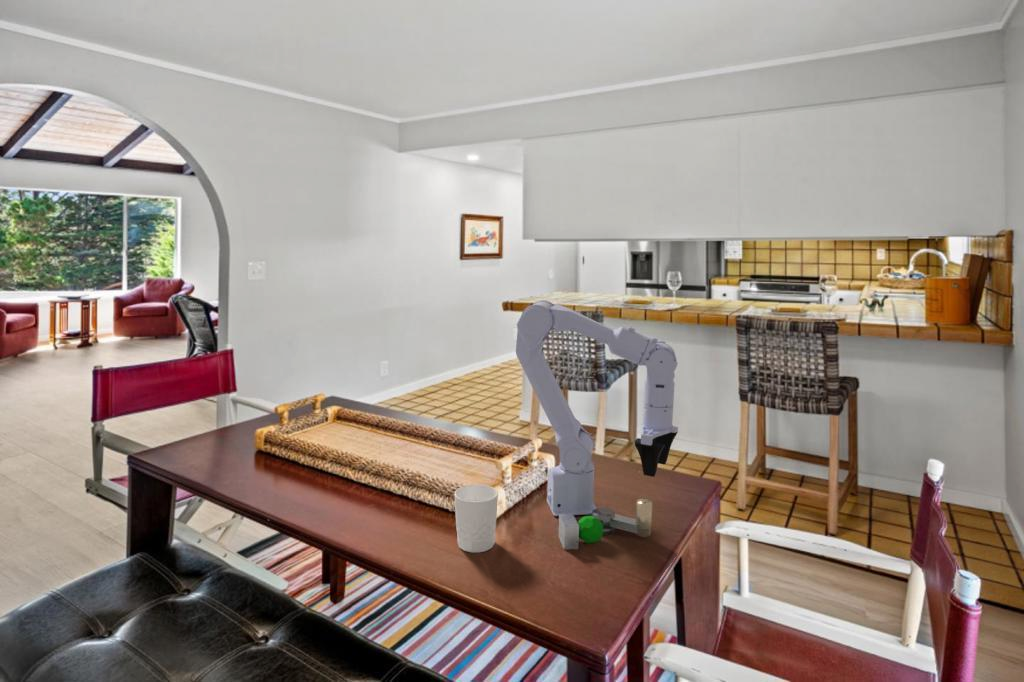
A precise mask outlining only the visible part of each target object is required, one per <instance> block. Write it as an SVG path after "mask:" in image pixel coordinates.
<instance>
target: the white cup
mask: <svg viewBox="0 0 1024 682" xmlns="http://www.w3.org/2000/svg"><path fill="white" fill-rule="evenodd" d="M498 492H499V491H498V490H497V489H496V488H495V487H492V486H491V485H487V484H481V483H479V484H467V485H464V486H460V487H459V488H456V490H455V491H454V492H453V493H454V513H455V514H454V515H455V526H456V527H455V529H456V533H457V535H456V537H457V545H458V548H459V549H461V550H462V551H464V552H467V553H468V552H469V553H484V552H487V551H489V550H490V549H493V547H494V545H495V542H496V541H495V540H496V529H497V528H496V527H497V517H498V502H499V501H498V500H499V499H498V498H499V493H498Z"/></svg>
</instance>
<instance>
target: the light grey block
mask: <svg viewBox="0 0 1024 682" xmlns="http://www.w3.org/2000/svg"><path fill="white" fill-rule="evenodd" d="M557 535H558V537H557V538H559V540H560V543H561V545H562V547H563V549H564V550H578V549H579V543H580V541H579V539H580V538H579V525H578V521H577V519H576V517H575V515H573V513H571V514H559V516H558V534H557Z"/></svg>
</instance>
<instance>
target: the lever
mask: <svg viewBox="0 0 1024 682" xmlns="http://www.w3.org/2000/svg"><path fill="white" fill-rule="evenodd" d="M596 508H597V509H594V510H593V511H592V514H591V516H593V517H595V518H596V519H598V520H599V521H601V523H602V525H603V528H609V527H614V528H615V529H619V530H621V531H626V532H629V533H633V534H636V535H637V536H639V537H645V538H646V537H650V536H651V535H652V533H651V532H652V517H653V515H652V514H653V501H652V500H650V499H646V498H639V499H637V500H636V513H635V514H636V515H635V518H633V517H628V516H624V515H621V514H617V513H616V512H615V511H614V510H612V509H610V508H606V507H599V508H598V507H596Z"/></svg>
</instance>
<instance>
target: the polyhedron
mask: <svg viewBox="0 0 1024 682" xmlns="http://www.w3.org/2000/svg"><path fill="white" fill-rule="evenodd" d="M577 523H578V525H579V539H580V540H581V541H582V542H584V543H586V544H596V543H598V542H599V541H600V540H601V539H602V538H603V535H604V534H603V525H602V523H601V521H599V520H598V519H596V518H595V517H593V516H592V515H585V516H582V517H581V518H580V519H579V520H578V521H577Z"/></svg>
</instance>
